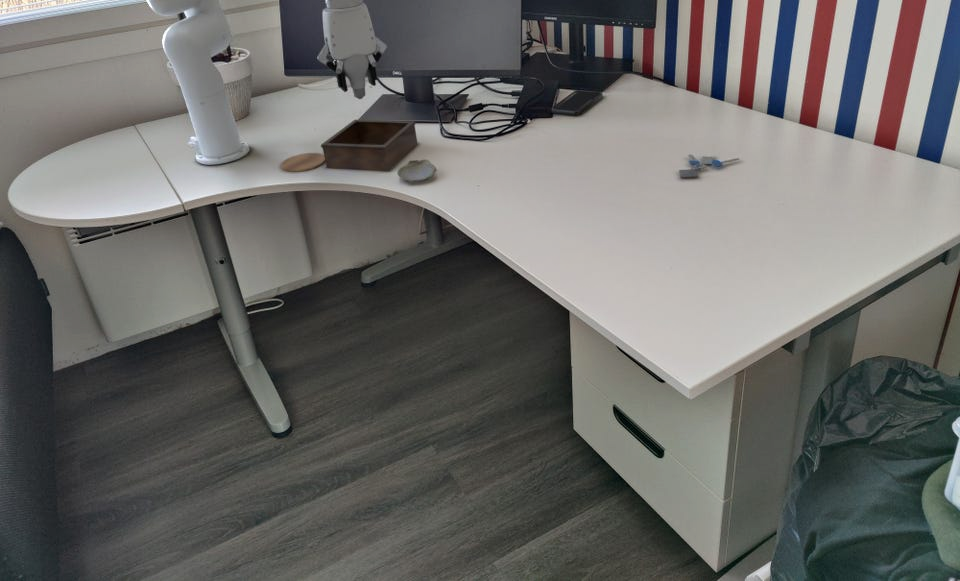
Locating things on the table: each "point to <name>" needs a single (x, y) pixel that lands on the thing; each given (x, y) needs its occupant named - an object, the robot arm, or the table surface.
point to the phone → (577, 102)
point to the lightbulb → (356, 73)
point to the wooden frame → (351, 155)
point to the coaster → (303, 162)
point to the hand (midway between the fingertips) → (358, 86)
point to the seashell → (417, 170)
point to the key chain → (705, 160)
